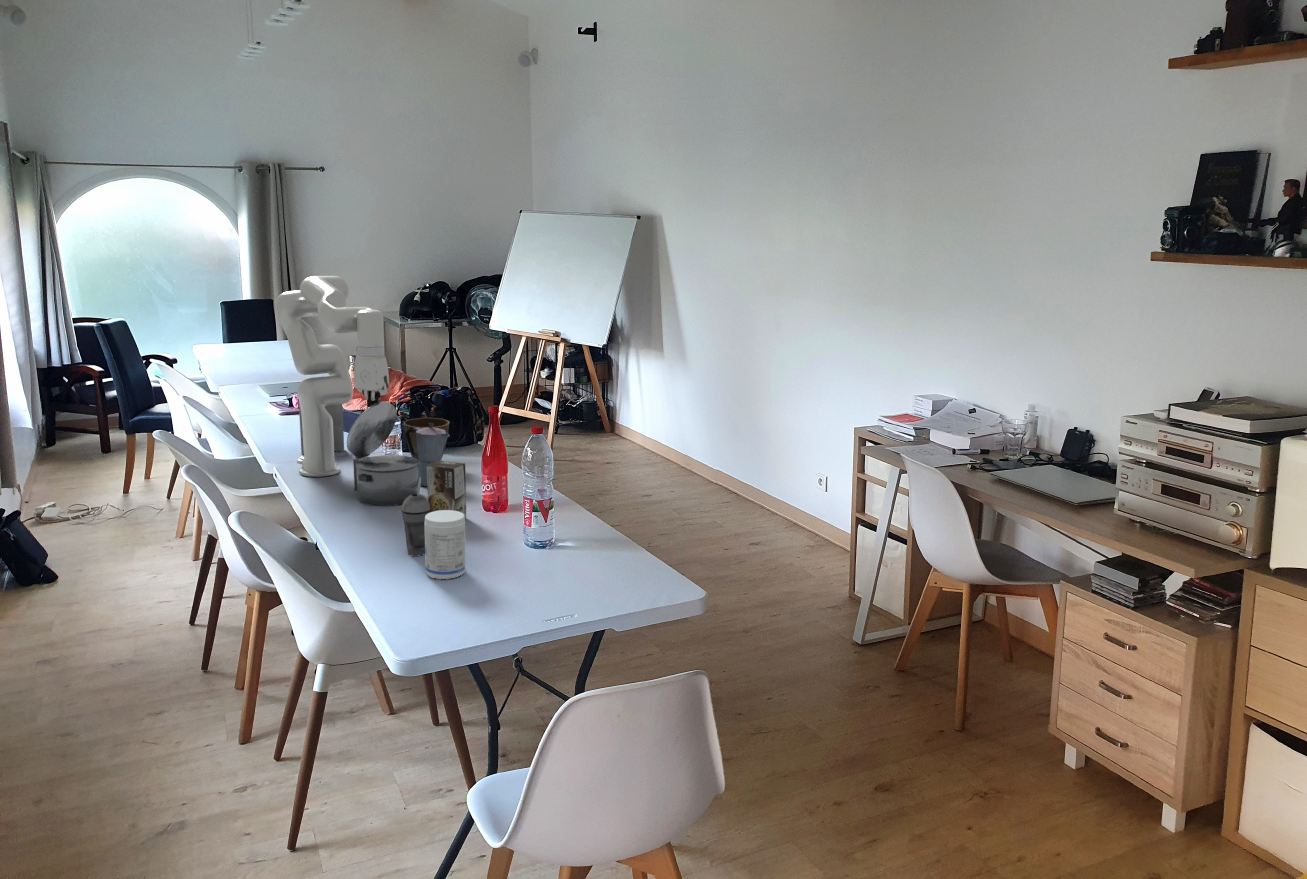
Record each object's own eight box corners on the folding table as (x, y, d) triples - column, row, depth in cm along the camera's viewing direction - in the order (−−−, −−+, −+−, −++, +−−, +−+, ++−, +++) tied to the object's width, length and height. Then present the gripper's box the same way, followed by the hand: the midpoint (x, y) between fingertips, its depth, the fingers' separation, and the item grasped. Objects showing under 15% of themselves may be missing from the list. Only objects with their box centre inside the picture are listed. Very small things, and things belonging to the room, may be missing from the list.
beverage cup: (405, 548, 247) (402, 473, 243) (433, 548, 248) (432, 473, 243) (400, 558, 240) (397, 481, 236) (429, 558, 241) (427, 481, 236)
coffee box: (467, 517, 274) (466, 463, 270) (455, 524, 268) (454, 468, 264) (439, 513, 277) (438, 459, 273) (427, 519, 271) (426, 464, 267)
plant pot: (459, 467, 328) (458, 421, 325) (428, 476, 316) (427, 428, 312) (427, 460, 336) (426, 416, 332) (395, 469, 323) (394, 422, 320)
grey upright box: (341, 447, 350) (338, 393, 346) (346, 451, 346) (343, 396, 341) (299, 452, 342) (296, 397, 337) (303, 455, 337) (300, 399, 333)
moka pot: (444, 489, 302) (443, 427, 297) (399, 485, 304) (397, 423, 300) (456, 481, 311) (455, 421, 306) (412, 477, 314) (410, 417, 309)
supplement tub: (426, 567, 234) (425, 509, 231) (466, 565, 236) (465, 508, 233) (424, 581, 225) (423, 522, 222) (465, 580, 227) (464, 521, 224)
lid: (341, 464, 284) (334, 458, 285) (384, 452, 300) (377, 446, 301) (361, 409, 276) (353, 403, 277) (404, 399, 293) (396, 394, 294)
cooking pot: (334, 500, 286) (333, 465, 283) (384, 484, 305) (383, 450, 303) (388, 511, 277) (386, 474, 275) (435, 493, 297) (435, 458, 294)
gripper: (342, 351, 283) (345, 411, 287) (382, 355, 277) (384, 417, 281) (360, 348, 289) (362, 407, 294) (399, 352, 283) (401, 413, 287)
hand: (373, 412), depth 287 cm, fingers closed
